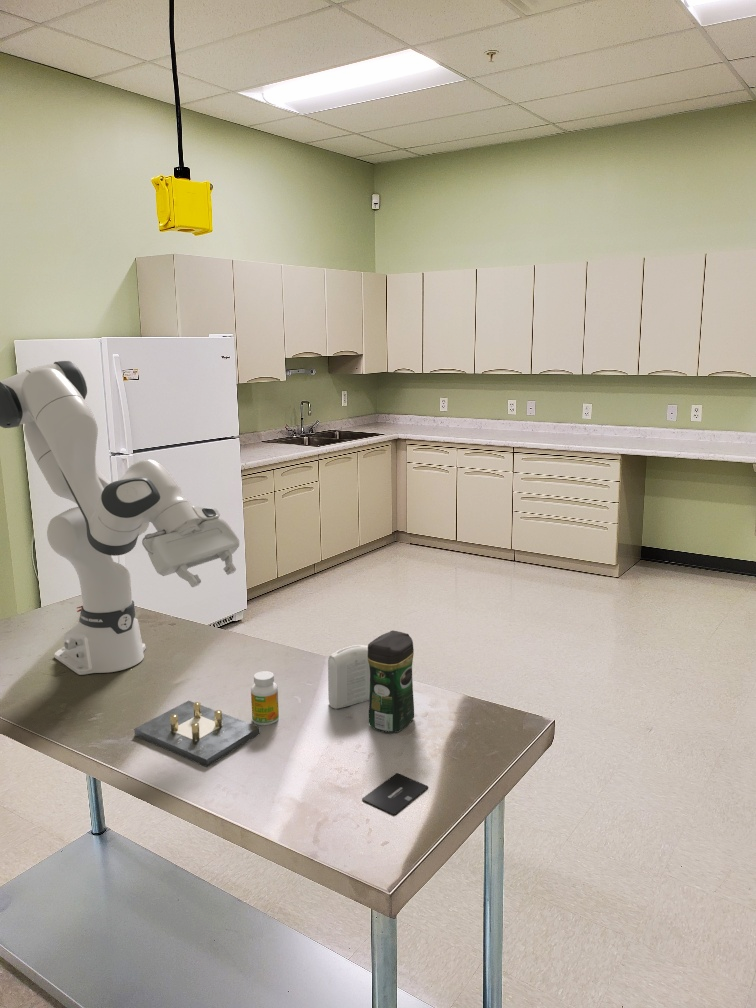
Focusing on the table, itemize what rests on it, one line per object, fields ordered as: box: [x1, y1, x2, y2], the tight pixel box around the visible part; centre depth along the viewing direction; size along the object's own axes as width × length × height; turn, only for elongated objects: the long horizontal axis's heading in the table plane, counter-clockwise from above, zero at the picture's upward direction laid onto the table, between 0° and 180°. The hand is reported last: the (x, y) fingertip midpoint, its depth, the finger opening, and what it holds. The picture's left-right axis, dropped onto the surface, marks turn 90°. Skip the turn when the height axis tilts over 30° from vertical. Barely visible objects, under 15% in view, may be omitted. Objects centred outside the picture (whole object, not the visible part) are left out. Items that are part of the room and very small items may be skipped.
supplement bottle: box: [250, 670, 280, 726], centre depth 155 cm, size 5×5×10 cm
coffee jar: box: [367, 630, 415, 734], centre depth 153 cm, size 10×8×19 cm
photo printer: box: [327, 644, 370, 709], centre depth 163 cm, size 10×4×12 cm, turn 123°
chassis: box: [133, 700, 261, 768], centre depth 150 cm, size 20×14×4 cm
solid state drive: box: [361, 772, 429, 817], centre depth 131 cm, size 7×10×1 cm
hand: (215, 578), depth 157 cm, fingers open, 8 cm apart
